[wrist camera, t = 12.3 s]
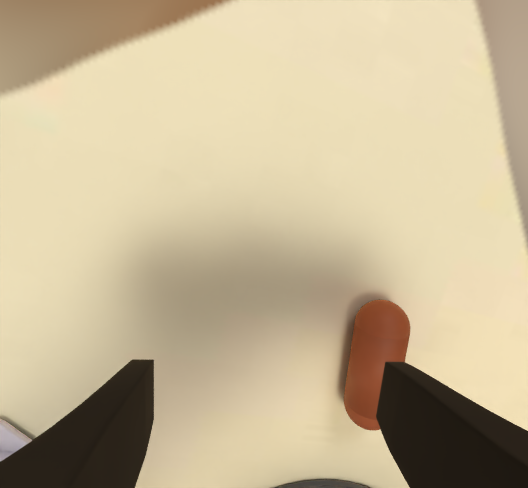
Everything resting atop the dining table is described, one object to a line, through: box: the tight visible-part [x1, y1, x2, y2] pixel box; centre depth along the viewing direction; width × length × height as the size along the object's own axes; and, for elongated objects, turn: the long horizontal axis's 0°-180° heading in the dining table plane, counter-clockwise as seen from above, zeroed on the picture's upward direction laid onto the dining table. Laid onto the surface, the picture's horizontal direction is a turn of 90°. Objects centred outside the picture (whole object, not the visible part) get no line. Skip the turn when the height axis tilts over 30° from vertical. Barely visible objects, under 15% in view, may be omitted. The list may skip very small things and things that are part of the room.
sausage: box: [344, 300, 410, 430], centre depth 20 cm, size 8×3×3 cm, turn 176°
